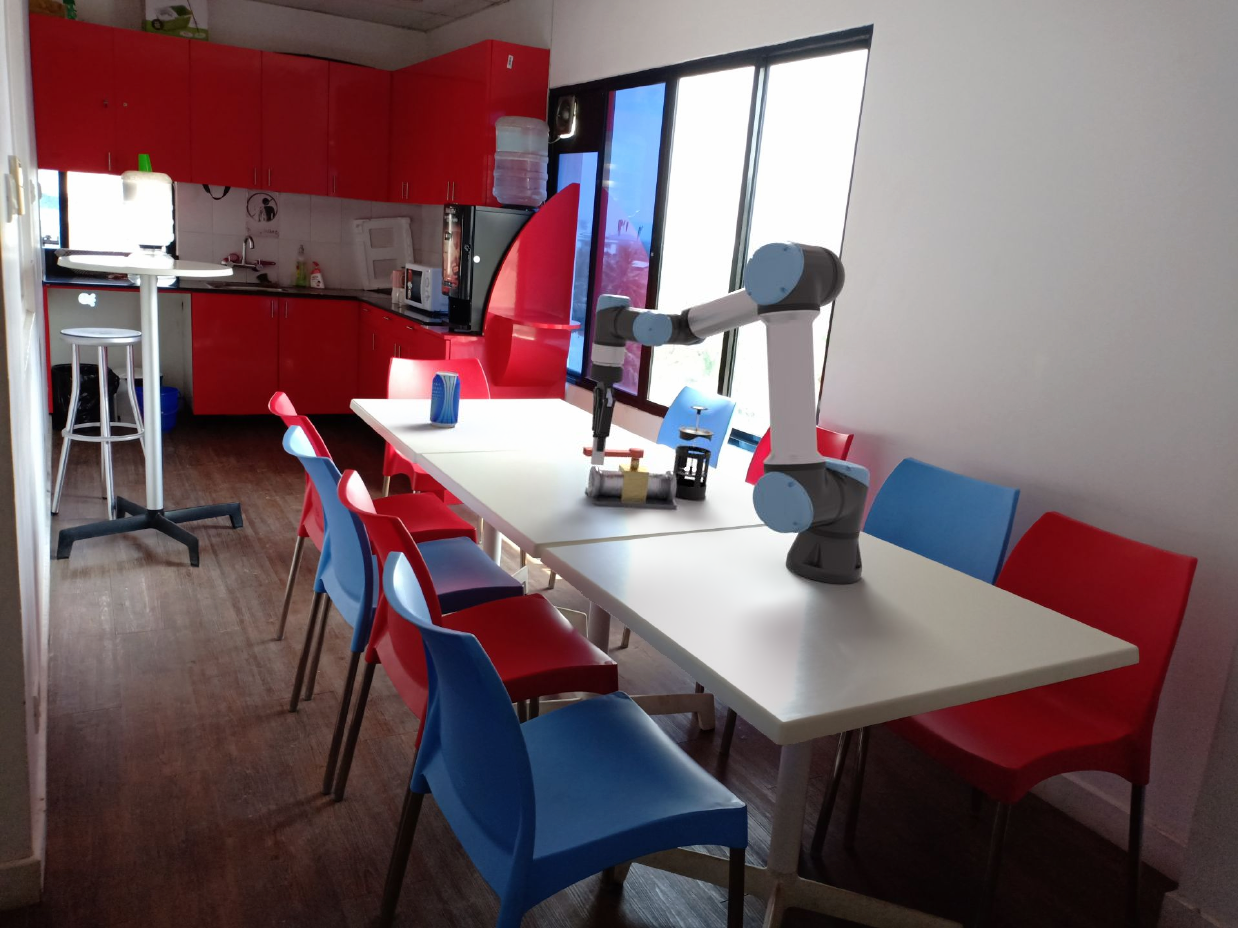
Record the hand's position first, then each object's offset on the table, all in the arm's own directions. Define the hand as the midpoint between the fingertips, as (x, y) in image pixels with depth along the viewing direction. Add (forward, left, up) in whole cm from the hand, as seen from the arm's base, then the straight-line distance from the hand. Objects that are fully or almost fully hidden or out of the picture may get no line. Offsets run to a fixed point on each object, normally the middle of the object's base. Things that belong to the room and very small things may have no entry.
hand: (597, 464), depth 216 cm
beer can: (+77, +32, -10) cm, 84 cm away
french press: (+12, -27, -10) cm, 31 cm away
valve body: (+4, -10, -9) cm, 14 cm away
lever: (+3, -5, +2) cm, 6 cm away
